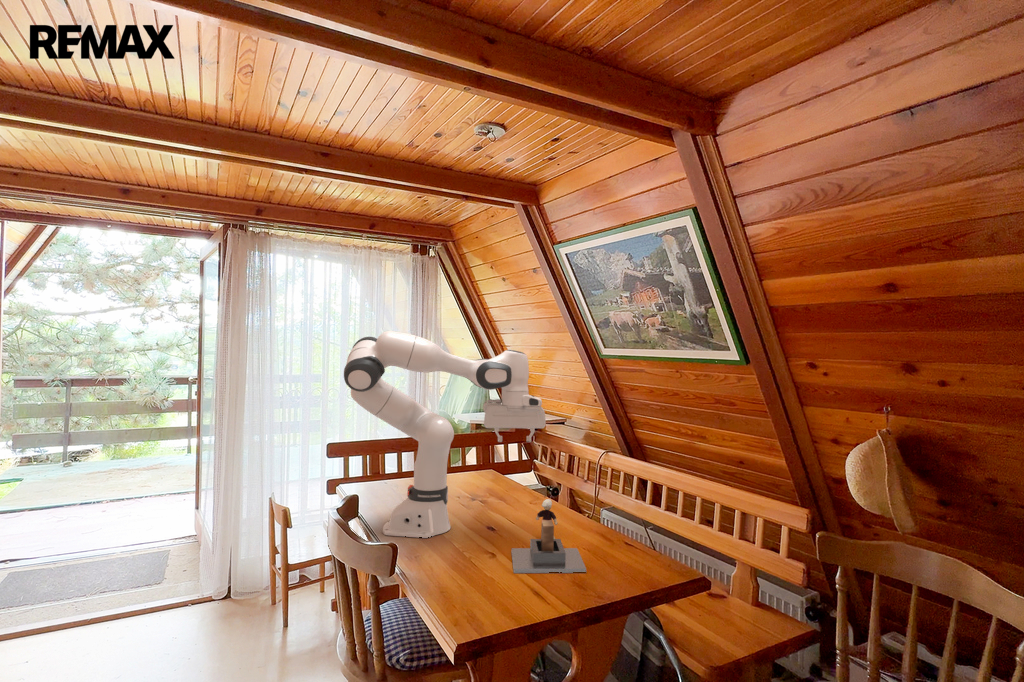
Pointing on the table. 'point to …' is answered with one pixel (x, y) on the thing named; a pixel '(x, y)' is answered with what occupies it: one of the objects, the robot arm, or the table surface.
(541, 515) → the grandmother figurine
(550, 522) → the walnut wedge
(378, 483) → the table surface
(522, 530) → the table surface
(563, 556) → the grey socket base
